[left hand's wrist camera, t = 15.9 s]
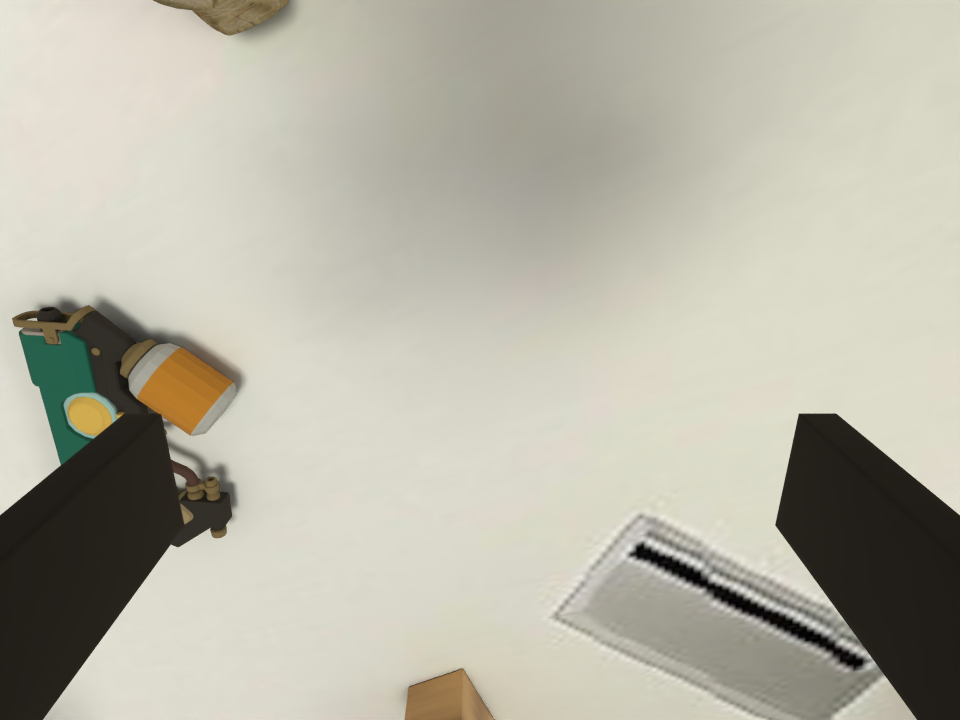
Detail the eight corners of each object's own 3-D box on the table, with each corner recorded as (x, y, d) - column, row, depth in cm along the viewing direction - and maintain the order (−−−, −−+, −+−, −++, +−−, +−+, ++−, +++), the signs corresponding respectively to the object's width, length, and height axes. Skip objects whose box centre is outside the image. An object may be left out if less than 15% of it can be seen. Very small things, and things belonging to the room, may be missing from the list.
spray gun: (233, 539, 47) (36, 480, 46) (273, 351, 40) (43, 276, 39) (207, 579, 43) (-9, 517, 42) (247, 379, 36) (-9, 297, 35)
